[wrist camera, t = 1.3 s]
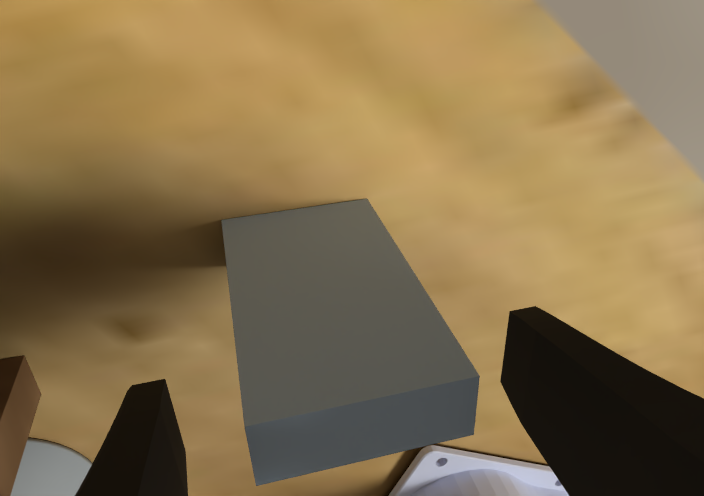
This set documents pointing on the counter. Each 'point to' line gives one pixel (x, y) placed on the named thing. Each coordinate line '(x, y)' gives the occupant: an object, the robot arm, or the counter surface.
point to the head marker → (49, 470)
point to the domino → (15, 416)
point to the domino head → (338, 343)
